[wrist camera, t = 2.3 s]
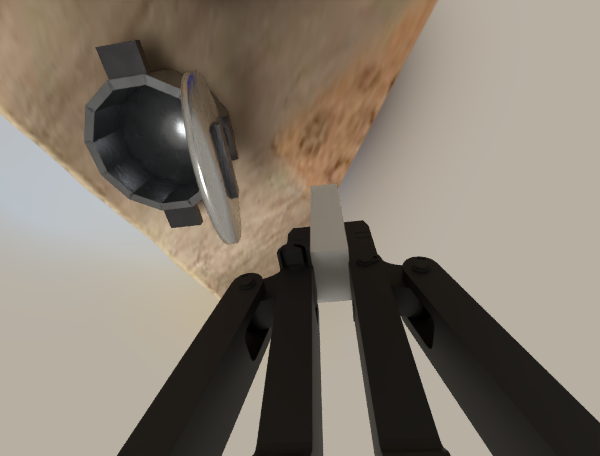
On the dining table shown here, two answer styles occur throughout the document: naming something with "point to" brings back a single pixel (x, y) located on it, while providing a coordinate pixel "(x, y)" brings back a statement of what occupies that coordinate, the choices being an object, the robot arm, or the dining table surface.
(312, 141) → the dining table surface
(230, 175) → the lid
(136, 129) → the pot
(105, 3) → the dining table surface
